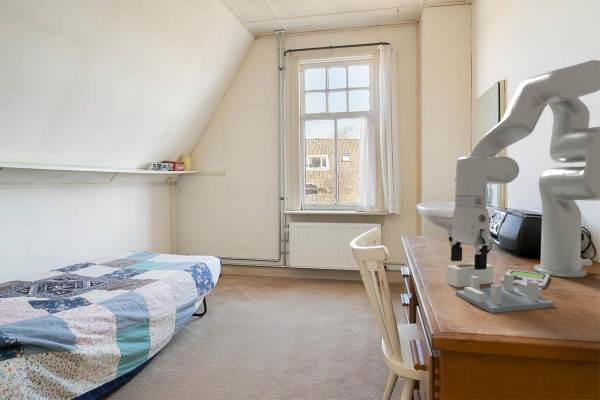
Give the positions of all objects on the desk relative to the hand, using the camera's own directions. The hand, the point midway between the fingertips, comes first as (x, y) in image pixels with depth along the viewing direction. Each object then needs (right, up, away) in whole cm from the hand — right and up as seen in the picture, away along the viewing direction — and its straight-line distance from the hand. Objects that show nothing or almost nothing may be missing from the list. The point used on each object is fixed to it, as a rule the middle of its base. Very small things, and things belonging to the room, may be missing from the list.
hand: (467, 264), depth 95 cm
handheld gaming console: (+18, -5, +3) cm, 19 cm away
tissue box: (+1, -5, +1) cm, 5 cm away
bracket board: (+2, -6, -14) cm, 15 cm away
